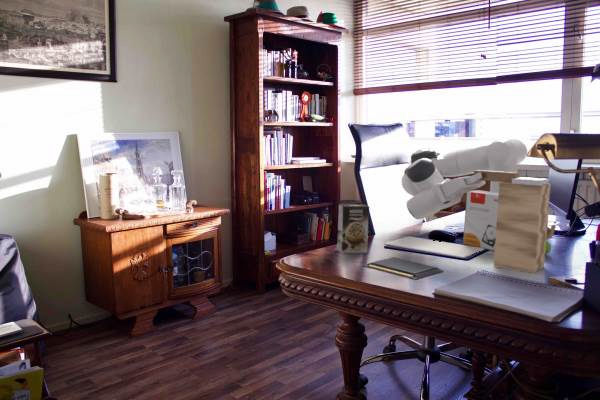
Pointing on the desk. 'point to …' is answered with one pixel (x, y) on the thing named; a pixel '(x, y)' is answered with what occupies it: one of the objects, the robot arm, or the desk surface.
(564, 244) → the desk surface
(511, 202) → the stand
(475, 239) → the hard drive box
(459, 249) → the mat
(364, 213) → the cookie box
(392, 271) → the grey book
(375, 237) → the desk surface
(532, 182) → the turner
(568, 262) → the desk surface
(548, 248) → the snail figurine
